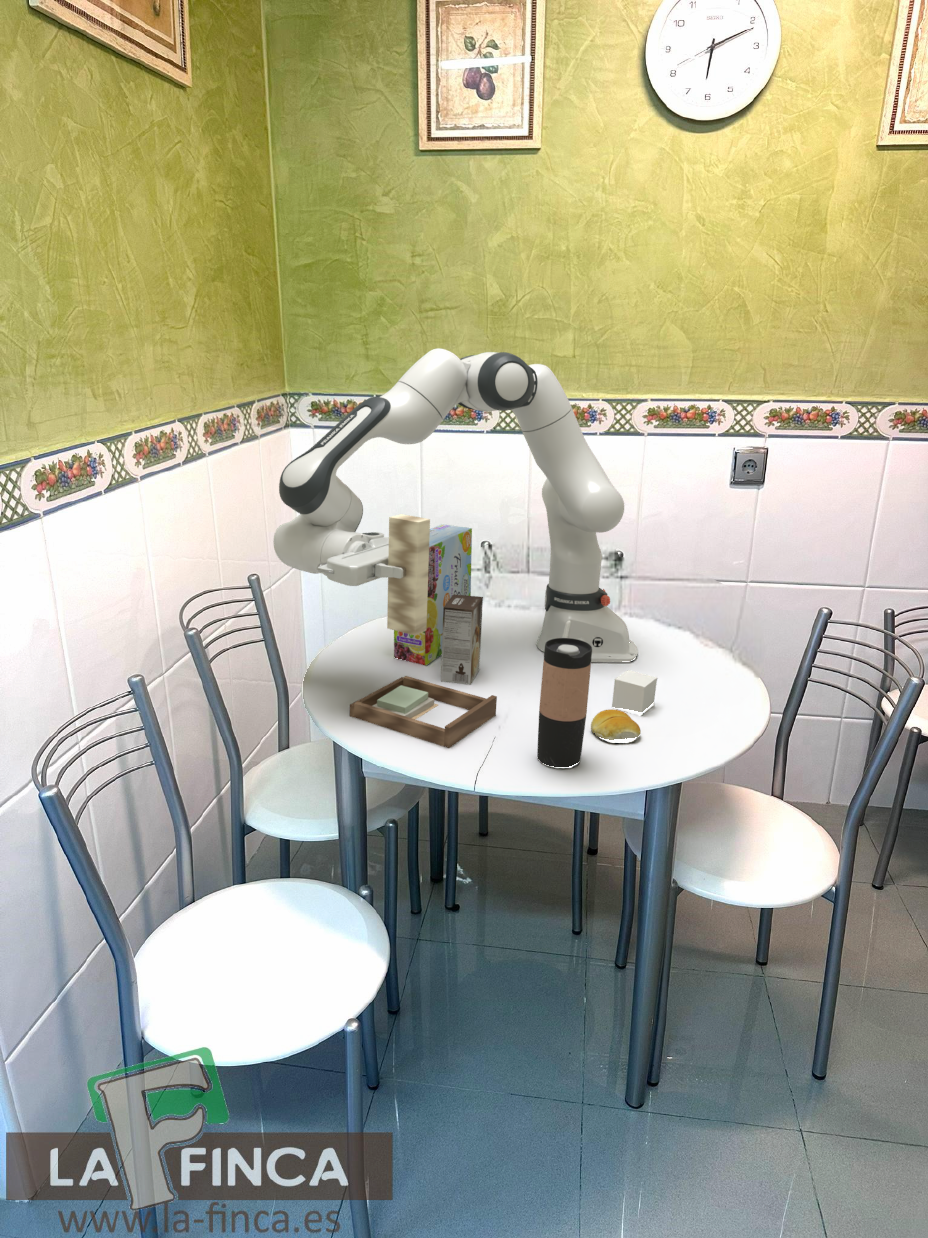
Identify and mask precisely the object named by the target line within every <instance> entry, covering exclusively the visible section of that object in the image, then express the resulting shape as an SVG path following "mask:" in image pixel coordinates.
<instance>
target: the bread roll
mask: <svg viewBox="0 0 928 1238" xmlns="http://www.w3.org/2000/svg"><path fill="white" fill-rule="evenodd" d="M590 729H591V730H590V731H591V732H592V734H594V733H595V734H594V735H595V736H596V737H597V736H598V737H601V738H604V739H609V740H614V739H625V738H626V739H627V738H635V737H638V736H639V735H641V734H642V733H641V727H640V725H639V724H638V723H637V722H636V721H635V720H634V719H632V718H631V717H630V715H629V714H628V713H627V712H625V711H621V710H618V709H614V708H612V709H604V710H602V711H600V712H598V713H596V715H594V717H593V718H592V720H591V724H590ZM598 737H597V738H598ZM639 737H640V736H639ZM639 737H638V738H639Z"/></svg>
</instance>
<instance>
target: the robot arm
mask: <svg viewBox="0 0 928 1238" xmlns="http://www.w3.org/2000/svg"><path fill="white" fill-rule="evenodd" d="M456 405H459V406H461V407H463V408H465V409H468V410H473V411H481V412H488V413H489V412H495V411H502V412H505V411H512V412H513V415H514V416H515V417H516V420H517V422H518V425H519V427H520V429H521V433H522V434H523V437H524V439H525V442H526V443H527V446H528V448H529V451H530V452H531V455H532V456H533V459H534V461H535V464H536V465H537V467H538V468H539V469H540V470H541V472H542V473H543V475H544V476H545V477H546V479H545V480H544V483H543V486H542V488H541V497H542V501H543V503H544V506H545V510H546V517H547V518H546V519H547V525H548V526H547V528H548V533H549V544H550V546H549V547H550V558H549V559H550V560H549V561H550V562H549V574H548V576H549V577H548V583H547V585H546V588H545V593H544V610H545V613H544V618H543V622H542V627H541V630H540V634H539V636H538V639H537V642H536V647H537V648H538V649H539V650H540V651H542V652H543V653H544V650H545V644H546V642H547V641H549V640H551V639H555V638H572V639H578V640H581V641H584V642H587V643H588V644H590V645H591V647H592V658H591V663H623V662H622V661H631V660H633V659H634V658H635V657H636V656H637V654H638V655H639V652H638V651H639V650H638V646H637V645H636V643H635V642H634V641H633V640H631V639H630V634H629V630H628V626H627V624H626V622H625V621H624V620H623V619H622V618H621V617H620V616H619V615H618V614H617V613H616V612H615V611H613V610H612V609H611V608H610V607H609V605H610V604H611V598H610V596H609V595H608V592H606V590H605V589H604V588H603V589H602V588H600V581H601V579H600V578H601V570H602V569H601V567H602V560H603V554H602V551H601V547H600V546H599V541H598V537H597V533H607V532H610V531H611V530H612V529H614V528H616V526H618V524H620V522H621V520H622V519H623V515H624V513H625V502H624V498H623V496H622V495H621V493H620V492H619V491H618V490H617V488H616V487H615V486H614V485H613V483H612V482H611V481H610V479H609V477H608V476H607V473H606V472H605V470H604V468H603V467H602V465H601V464H600V462H599V460H598V458H597V457H596V456H595V454H594V453H593V450H592V449H591V448H590V446H589V444H588V442H587V440H586V438H585V436H584V434H583V431H582V429H581V426H580V424H579V421H578V420H577V417H576V415H575V412H574V410H573V407H572V405H571V402H570V400H569V398H568V396H567V394H566V392H565V390H564V388H563V386H562V385H561V383H560V381H559V380H558V378H557V376H556V375H555V374H554V372H553V371H552V369H551V368H549V366H547V365H545V364H542V363H533V364H532V363H531V364H529V365H528V363H527V362H525V360H524V359H522V358H521V357H519V356H517V355H515V354H513V353H510V352H505V351H503V352H502V351H501V352H497V351H495V352H493V351H486V352H481V353H479V354H473V355H472V354H471V355H467V356H463V357H461V358H459V356H457V355H456V354H455V353H453V352H452V351H450V350H447V349H445V348H434V349H431V350H429V351H428V352H426V353H425V354H424V355H423V356H422V357H420V358H419V359H418V360H417V361H416V362H415V363H414V364H412V365H411V367H409V368H408V369H407V371H405V372H404V374H403V375H402V376H401V377H400V378H399V379H398V381H397V382H396V383H395V384H394V385H393V386H392V388H390V389H389V390H388V391H387V392H385V393H384V394H382V395H380V396H372V397H368V398H367V399H364V400H363V401H362V402H361V403H359V404H358V405H357V406H355V407H354V408H353V409H352V410H351V411H350V412H348V414H346V415H345V416H344V417H343V418H342V419H341V420H339V421H338V423H336V425H334V426H333V427H332V428H331V429H330V430H329V431H328V432H327V433H326V434H325V435H323V436H322V438H320V439H319V440H318V441H317V442H316V443H315V444H313V445H312V446H311V447H310V448H309V449H308V450H306V451H305V452H304V453H301V454H300V455H299V456H297V457H295V458H294V459H293V460H291V461H290V462H289V463H288V464H287V465H286V466H285V467H284V469H283V471H282V472H281V475H280V477H279V484H278V491H279V492H278V494H279V497H280V499H281V501H282V502H283V504H284V505H286V506H287V507H289V508H290V509H292V510H294V511H295V512H296V513H298V515H297V516H296V517H295V518H293V519H292V520H290V521H288V522H286V523H282V524H281V525H279V526H278V527H277V528H276V530H275V532H274V535H273V540H272V541H273V548H274V553H275V555H276V556H277V558H278V559H279V561H281V562H282V563H283V564H284V565H286V566H288V567H291V568H292V569H295V570H298V571H302V572H305V573H309V574H314V575H315V574H322V575H324V576H326V578H327V579H328V580H330V581H331V582H334V583H337V584H341V585H345V586H349V587H358V586H361V585H364V584H367V583H370V582H372V581H375V580H378V579H381V578H382V579H383V578H387V579H388V577H394V578H399V579H400V578H403V577H405V576H406V568H405V567H402V566H389V565H388V555H389V536H388V537H387V536H385V534H384V533H383V532H378V531H376V532H374V531H373V532H362V533H361V532H357V530H358V528H359V527H360V524H361V523H362V522H361V521H362V519H363V515H364V505H363V503H362V500H361V499H360V497H359V496H357V494H356V493H354V491H353V490H352V489H351V488H350V487H349V486H347V484H345V483H344V482H343V481H342V480H341V479H340V478H339V477H338V476H337V471H338V470H339V468H340V466H342V465H343V464H344V463H345V462H346V461H347V460H348V459H349V458H350V457H351V456H352V455H354V453H356V452H357V451H358V450H359V449H360V448H361V447H362V446H363V445H364V444H365V443H366V442H368V441H370V440H372V439H375V438H383V439H385V440H386V439H387V440H389V441H392V442H394V443H397V444H401V445H414V444H420V443H422V442H424V441H425V440H426V439H428V437H430V436H431V435H432V434H433V433H434V432H435V430H436V429H437V428H438V427H439V426H440V424H441V423H442V422H443V420H444V419H445V418H446V416H448V414H449V413H450V411H451V409H453V408H454V407H455V406H456ZM629 642H630V643H629Z"/></svg>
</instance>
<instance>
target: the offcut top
mask: <svg viewBox="0 0 928 1238" xmlns="http://www.w3.org/2000/svg"><path fill="white" fill-rule="evenodd" d="M426 699H428V692H425V691H421V690H417V689H413V688H409V687H405V686H402V685H401V686H399V687H397V688H396V689H394V690H392V691H391V692H389V693H388V694H386V695H384V696H383V697H381V698H380V699H378V700H377V706H378V707H382V708H386V709H389V710H393V711H397V712H400V713H404V714H406V713H407V712H409V711H410V710H412V709H413V708H415V707H416V706H418V705H419V704H421V703H422V702H423V701H425V700H426Z"/></svg>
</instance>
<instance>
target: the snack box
mask: <svg viewBox="0 0 928 1238" xmlns="http://www.w3.org/2000/svg"><path fill="white" fill-rule="evenodd" d="M472 545H473V528H472V527H466V526H465V527H464V526H458V525H452V524H442V523H441V524H439V525H436V526H434V527H432V528H431V527H430V537H429V567H428V596H427V626H426V631H424V632H422V633H420V634H417V635H411V634H407V633H403V632H399V631H395V630H393V658H394V657H395V658H398V659H397V660H399V659H402V660H401V661H404V660H406V661H405V662H408V661H409V663H413V664H418V665H420V666H425V667H427V666H428V665H429V664H431V663H432V662H434V661H435V660H437V658H439V657H440V656H441V657H442V635H443V607H444V606H445V605H446V603H447V602H448V601H449V599H450V598H451V597H452V595H454V594H455V595H467V596H472V595H471V593H472V592H471V590H472V588H471V587H472V553H473V552H472V550H473V548H472ZM395 658H394V659H395Z"/></svg>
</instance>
